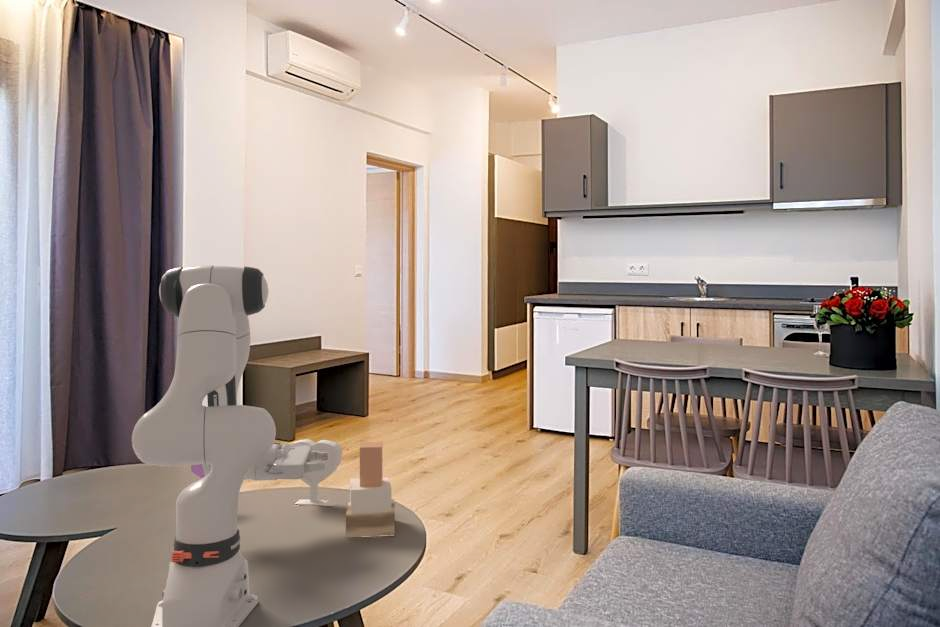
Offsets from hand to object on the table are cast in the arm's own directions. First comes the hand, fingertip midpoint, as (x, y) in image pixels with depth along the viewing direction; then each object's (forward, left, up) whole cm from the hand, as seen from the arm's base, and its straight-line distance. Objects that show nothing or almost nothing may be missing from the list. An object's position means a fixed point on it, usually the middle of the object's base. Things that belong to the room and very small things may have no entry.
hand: (326, 460), depth 175 cm
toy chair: (+19, +34, -18) cm, 43 cm away
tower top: (+1, -11, -12) cm, 16 cm away
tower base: (0, -11, -18) cm, 21 cm away
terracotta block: (+1, -11, -6) cm, 13 cm away
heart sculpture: (+23, +6, -18) cm, 30 cm away
